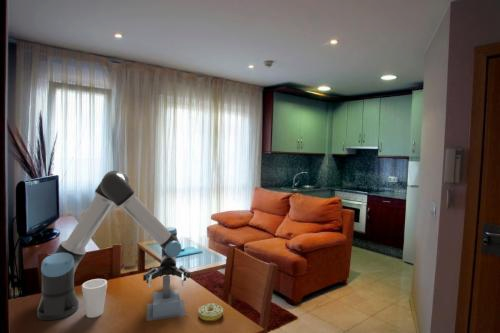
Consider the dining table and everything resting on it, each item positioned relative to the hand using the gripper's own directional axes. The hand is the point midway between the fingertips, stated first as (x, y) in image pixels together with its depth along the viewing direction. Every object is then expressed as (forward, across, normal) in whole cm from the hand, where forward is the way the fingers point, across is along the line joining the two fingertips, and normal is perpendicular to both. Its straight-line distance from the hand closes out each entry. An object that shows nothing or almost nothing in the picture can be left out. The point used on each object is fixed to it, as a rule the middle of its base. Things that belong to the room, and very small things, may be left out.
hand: (166, 283), depth 131 cm
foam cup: (-6, +29, -14) cm, 33 cm away
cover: (-3, 0, -13) cm, 13 cm away
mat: (-3, 0, -13) cm, 14 cm away
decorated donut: (+4, -19, -14) cm, 24 cm away
